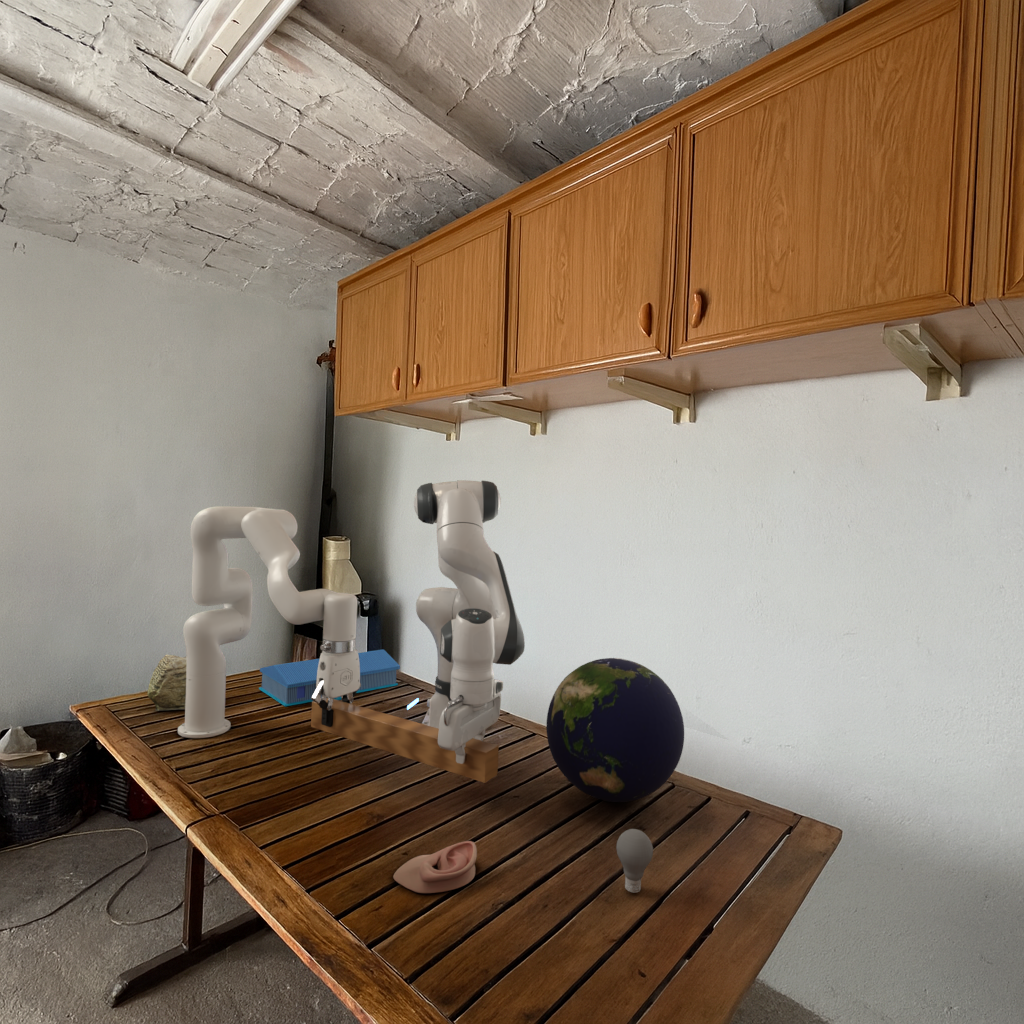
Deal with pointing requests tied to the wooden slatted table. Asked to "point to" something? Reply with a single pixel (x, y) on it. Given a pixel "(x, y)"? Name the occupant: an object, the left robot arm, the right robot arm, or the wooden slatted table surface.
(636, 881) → the light bulb
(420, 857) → the anatomical model
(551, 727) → the globe
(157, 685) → the fossil
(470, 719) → the right robot arm
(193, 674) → the left robot arm
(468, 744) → the bar
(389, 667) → the model building
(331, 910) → the wooden slatted table surface
